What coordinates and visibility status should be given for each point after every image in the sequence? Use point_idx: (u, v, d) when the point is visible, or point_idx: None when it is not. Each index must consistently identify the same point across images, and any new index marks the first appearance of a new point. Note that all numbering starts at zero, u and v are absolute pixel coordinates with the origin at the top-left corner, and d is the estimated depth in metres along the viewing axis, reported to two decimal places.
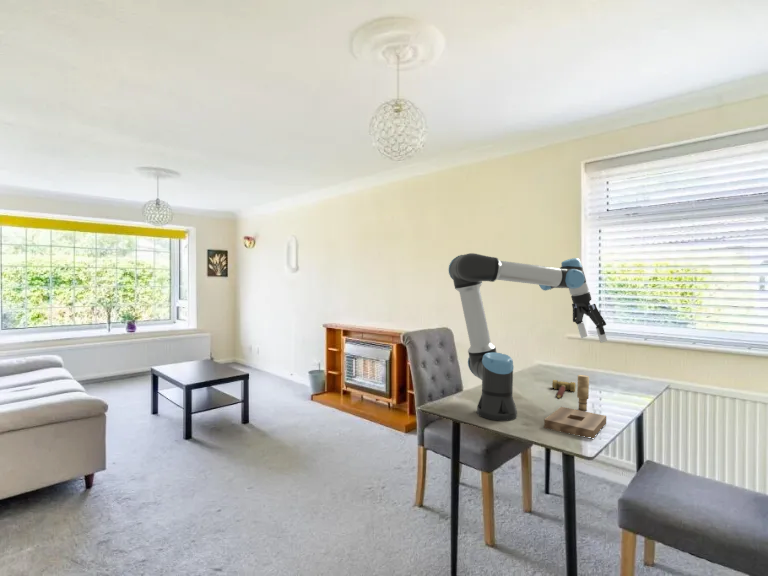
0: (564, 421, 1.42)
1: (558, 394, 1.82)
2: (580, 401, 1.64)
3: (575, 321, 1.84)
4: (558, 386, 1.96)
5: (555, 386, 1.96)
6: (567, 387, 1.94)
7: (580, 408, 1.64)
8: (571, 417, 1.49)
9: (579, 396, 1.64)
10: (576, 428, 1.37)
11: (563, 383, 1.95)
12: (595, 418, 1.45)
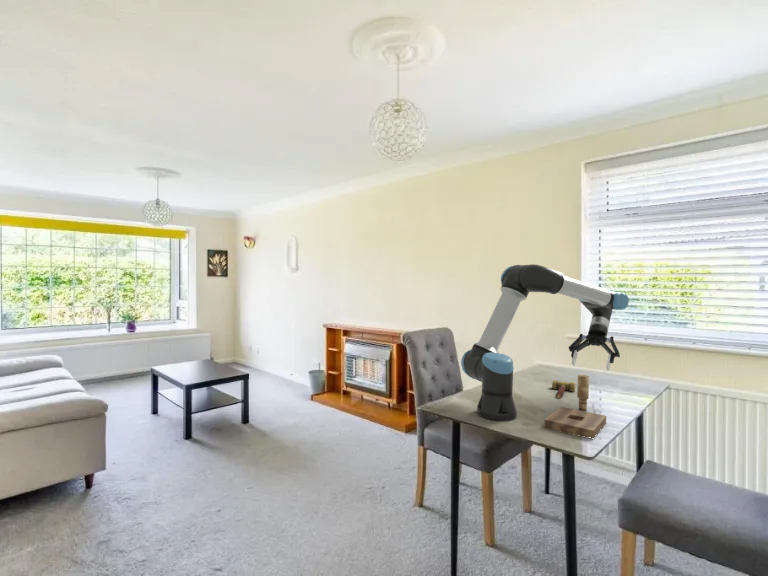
0: (564, 421, 1.42)
1: (558, 394, 1.82)
2: (580, 401, 1.64)
3: (571, 348, 1.82)
4: (558, 386, 1.96)
5: (555, 386, 1.96)
6: (567, 387, 1.94)
7: (580, 408, 1.64)
8: (571, 417, 1.49)
9: (579, 396, 1.64)
10: (576, 428, 1.37)
11: (563, 383, 1.95)
12: (595, 418, 1.45)
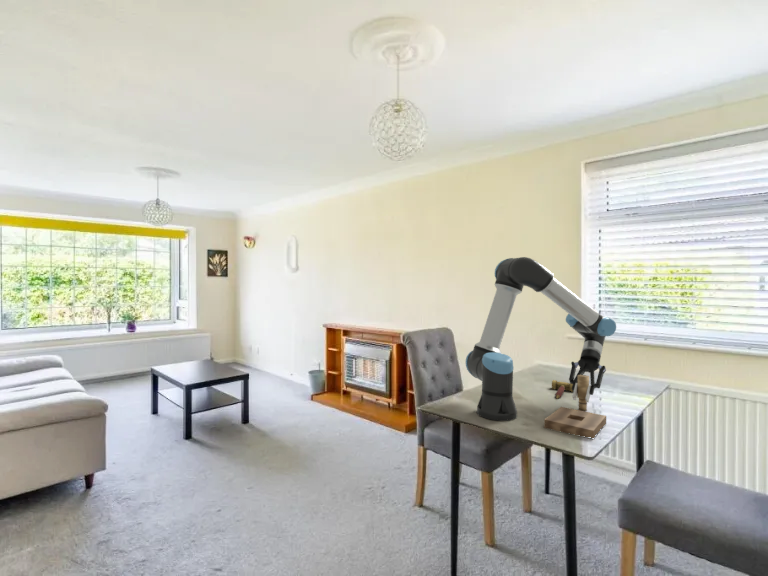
0: (564, 421, 1.42)
1: (557, 394, 1.82)
2: (580, 401, 1.64)
3: (572, 381, 1.68)
4: (557, 386, 1.95)
5: (554, 386, 1.96)
6: (566, 387, 1.93)
7: (580, 408, 1.64)
8: (571, 417, 1.49)
9: (579, 396, 1.64)
10: (576, 428, 1.37)
11: (562, 383, 1.95)
12: (595, 418, 1.45)
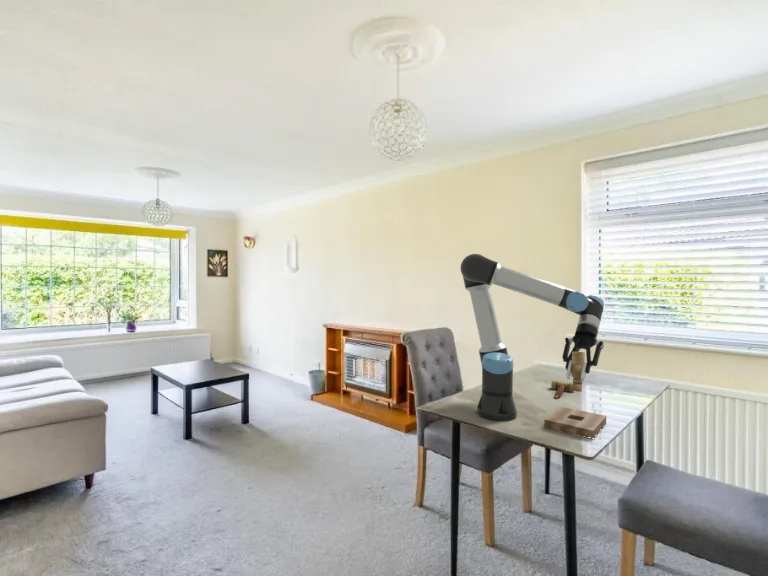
0: (564, 421, 1.42)
1: (556, 394, 1.81)
2: (575, 381, 1.46)
3: (565, 358, 1.50)
4: (557, 386, 1.95)
5: (554, 386, 1.95)
6: (566, 387, 1.93)
7: (574, 388, 1.46)
8: (571, 417, 1.49)
9: (574, 375, 1.46)
10: (576, 428, 1.37)
11: (562, 383, 1.94)
12: (595, 418, 1.45)
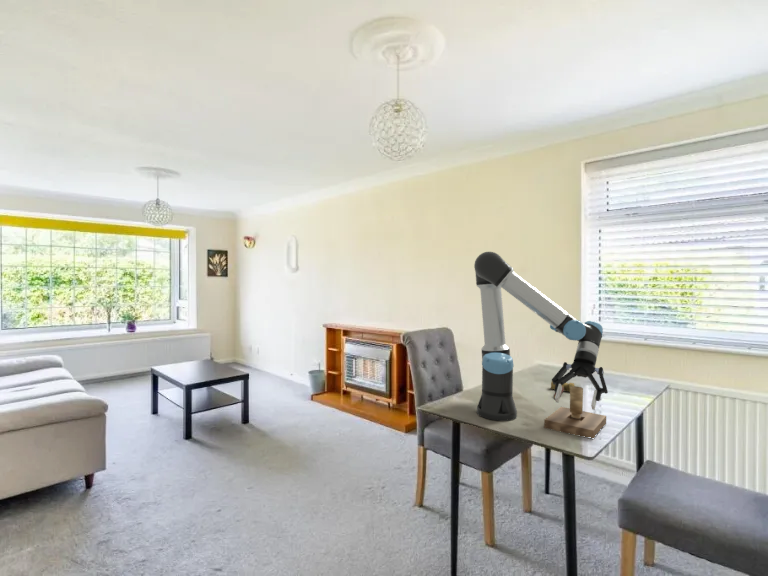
0: (564, 421, 1.42)
1: (555, 394, 1.81)
2: (573, 416, 1.45)
3: (554, 381, 1.53)
4: None
5: (554, 387, 1.95)
6: (566, 388, 1.92)
7: None
8: None
9: (572, 410, 1.45)
10: (576, 428, 1.37)
11: None
12: (595, 418, 1.45)
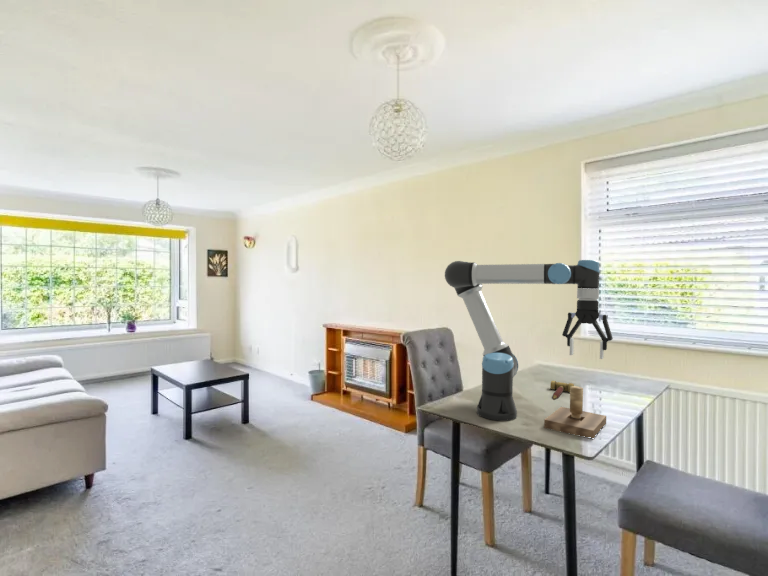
0: (564, 421, 1.42)
1: (554, 395, 1.81)
2: (573, 416, 1.45)
3: (565, 335, 1.60)
4: (556, 387, 1.94)
5: (553, 387, 1.95)
6: (565, 388, 1.92)
7: None
8: None
9: (572, 410, 1.45)
10: (576, 428, 1.37)
11: (561, 384, 1.94)
12: (595, 418, 1.45)
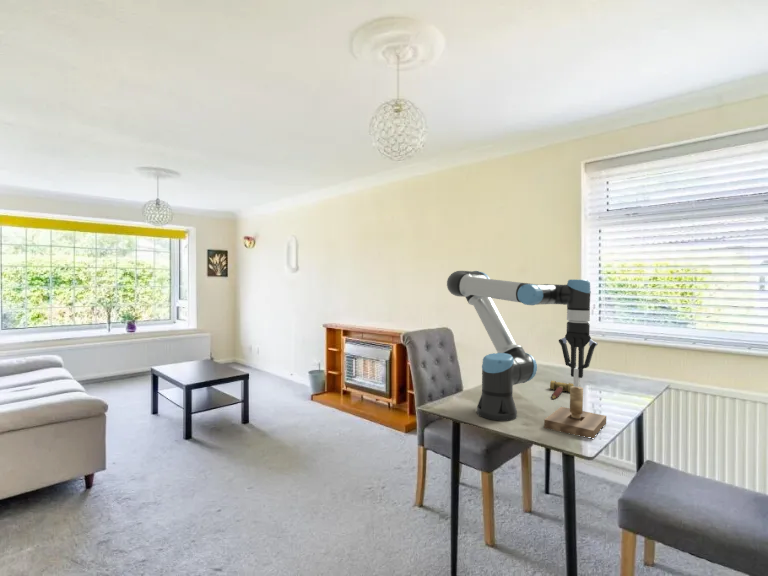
0: (564, 421, 1.42)
1: (553, 395, 1.81)
2: (573, 416, 1.45)
3: (569, 365, 1.47)
4: (556, 387, 1.94)
5: (553, 387, 1.95)
6: (565, 388, 1.92)
7: None
8: None
9: (572, 410, 1.45)
10: (576, 428, 1.37)
11: (561, 384, 1.93)
12: (595, 418, 1.45)
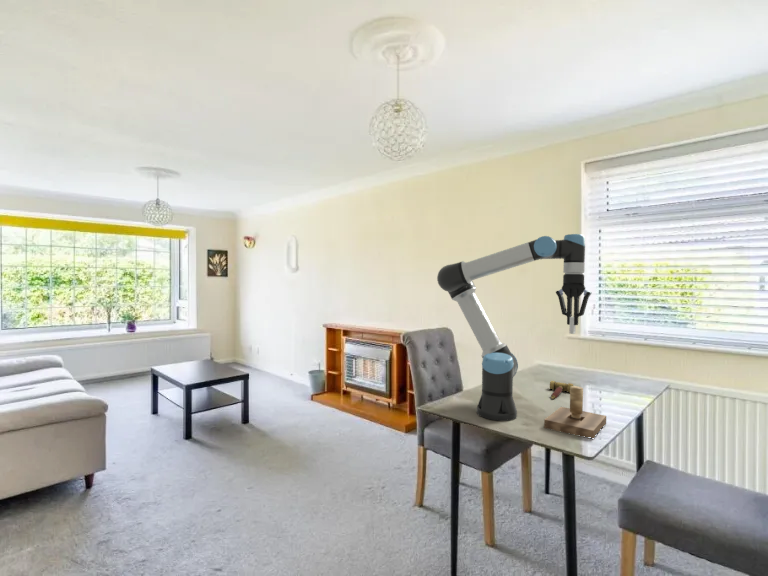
0: (564, 421, 1.42)
1: (552, 395, 1.81)
2: (573, 416, 1.45)
3: (565, 314, 1.59)
4: (555, 387, 1.94)
5: (552, 387, 1.94)
6: (564, 388, 1.92)
7: None
8: None
9: (572, 410, 1.45)
10: (576, 428, 1.37)
11: (560, 384, 1.93)
12: (595, 418, 1.45)
